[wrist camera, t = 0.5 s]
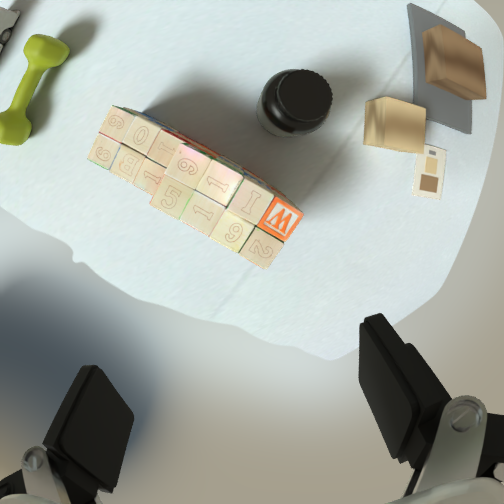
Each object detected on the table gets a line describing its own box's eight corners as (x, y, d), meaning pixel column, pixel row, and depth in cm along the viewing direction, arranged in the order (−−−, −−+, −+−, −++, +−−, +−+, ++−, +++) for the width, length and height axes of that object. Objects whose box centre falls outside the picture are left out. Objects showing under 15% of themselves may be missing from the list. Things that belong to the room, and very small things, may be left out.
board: (406, 5, 25) (410, 2, 24) (460, 32, 26) (464, 30, 24) (413, 114, 32) (417, 114, 31) (466, 133, 33) (471, 134, 32)
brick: (421, 32, 26) (440, 24, 21) (462, 52, 26) (481, 48, 22) (425, 82, 29) (446, 77, 24) (465, 100, 29) (486, 99, 25)
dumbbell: (52, 38, 24) (26, 27, 18) (82, 50, 26) (57, 37, 19) (7, 130, 29) (-22, 133, 22) (33, 148, 31) (3, 152, 24)
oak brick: (365, 102, 31) (386, 96, 26) (401, 111, 32) (425, 108, 26) (363, 144, 34) (384, 145, 28) (399, 151, 34) (423, 154, 28)
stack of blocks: (119, 153, 33) (70, 160, 21) (141, 111, 31) (98, 98, 19) (257, 232, 37) (267, 272, 26) (284, 192, 36) (306, 215, 24)
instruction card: (417, 142, 33) (418, 142, 33) (445, 150, 34) (446, 150, 33) (411, 195, 36) (412, 195, 36) (439, 199, 37) (440, 200, 36)
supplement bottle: (255, 85, 30) (264, 56, 19) (309, 87, 31) (342, 62, 19) (256, 137, 33) (266, 132, 22) (310, 138, 33) (345, 135, 22)
